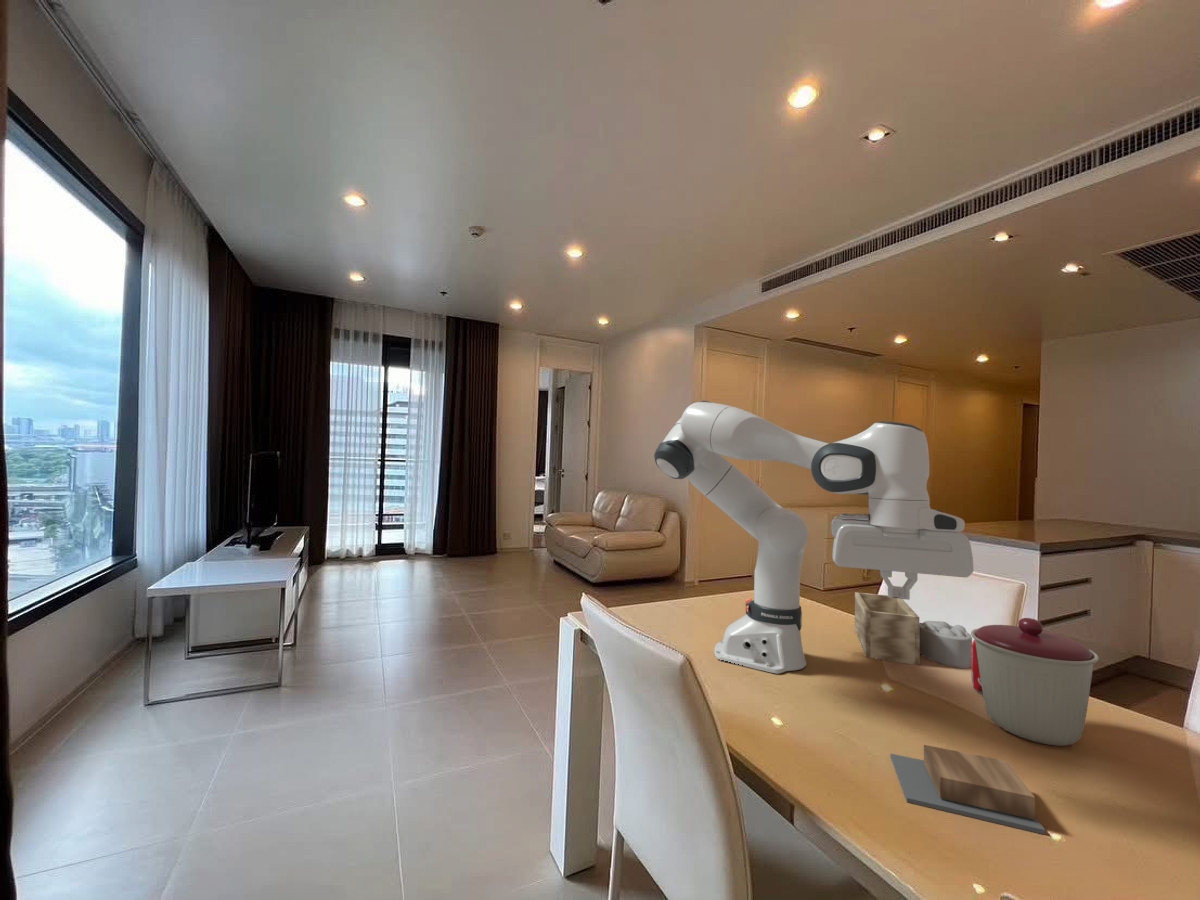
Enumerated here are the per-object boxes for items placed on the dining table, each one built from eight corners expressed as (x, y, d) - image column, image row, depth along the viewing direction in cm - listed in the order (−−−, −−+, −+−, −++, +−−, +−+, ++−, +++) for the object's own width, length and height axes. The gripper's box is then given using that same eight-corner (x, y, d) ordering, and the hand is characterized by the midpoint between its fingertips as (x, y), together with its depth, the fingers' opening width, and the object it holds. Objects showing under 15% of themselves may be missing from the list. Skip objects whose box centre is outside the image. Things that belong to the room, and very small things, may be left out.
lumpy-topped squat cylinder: (949, 649, 133) (949, 618, 134) (984, 669, 120) (984, 634, 121) (911, 648, 134) (911, 616, 134) (942, 667, 121) (941, 632, 121)
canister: (1068, 769, 79) (1066, 640, 80) (951, 716, 96) (950, 610, 97) (1120, 746, 87) (1118, 628, 87) (1003, 701, 103) (1002, 602, 104)
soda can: (1020, 703, 102) (1019, 646, 103) (982, 699, 104) (982, 643, 104) (999, 688, 109) (999, 635, 110) (964, 685, 111) (964, 632, 111)
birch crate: (866, 657, 126) (866, 611, 126) (854, 631, 146) (855, 592, 147) (919, 665, 122) (919, 617, 122) (900, 637, 142) (900, 596, 143)
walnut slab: (940, 776, 70) (1034, 797, 66) (923, 744, 79) (1006, 760, 75) (940, 799, 70) (1035, 821, 66) (923, 765, 78) (1007, 782, 74)
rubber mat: (906, 802, 70) (906, 797, 70) (890, 757, 81) (890, 753, 81) (1045, 834, 64) (1045, 830, 64) (1007, 781, 76) (1007, 777, 76)
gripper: (832, 514, 83) (832, 595, 82) (976, 521, 75) (977, 610, 75) (829, 511, 89) (829, 587, 88) (963, 518, 81) (963, 600, 80)
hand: (898, 598), depth 81 cm, fingers closed
